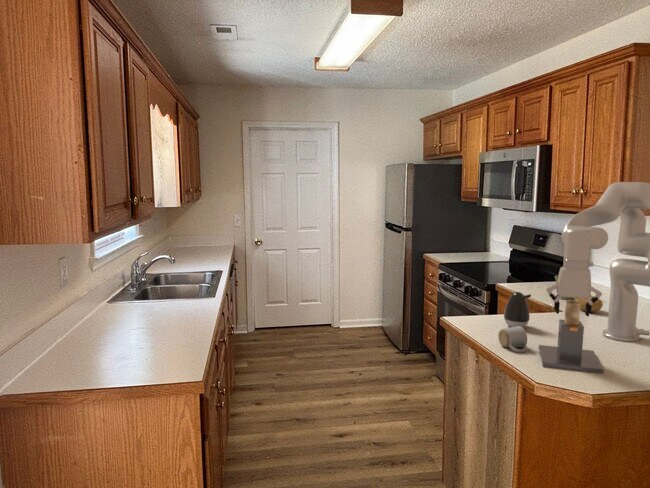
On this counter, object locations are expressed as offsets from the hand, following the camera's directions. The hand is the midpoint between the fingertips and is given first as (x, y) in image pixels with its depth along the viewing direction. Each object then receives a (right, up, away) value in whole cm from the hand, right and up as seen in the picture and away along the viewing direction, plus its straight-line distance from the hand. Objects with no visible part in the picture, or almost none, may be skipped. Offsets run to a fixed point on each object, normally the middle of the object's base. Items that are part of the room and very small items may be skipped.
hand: (571, 313), depth 166 cm
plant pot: (+42, -5, +88) cm, 98 cm away
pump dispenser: (-3, -11, +40) cm, 42 cm away
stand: (0, -17, +2) cm, 17 cm away
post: (0, -14, +2) cm, 14 cm away
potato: (+40, -8, +64) cm, 76 cm away
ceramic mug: (-14, -15, +15) cm, 25 cm away
